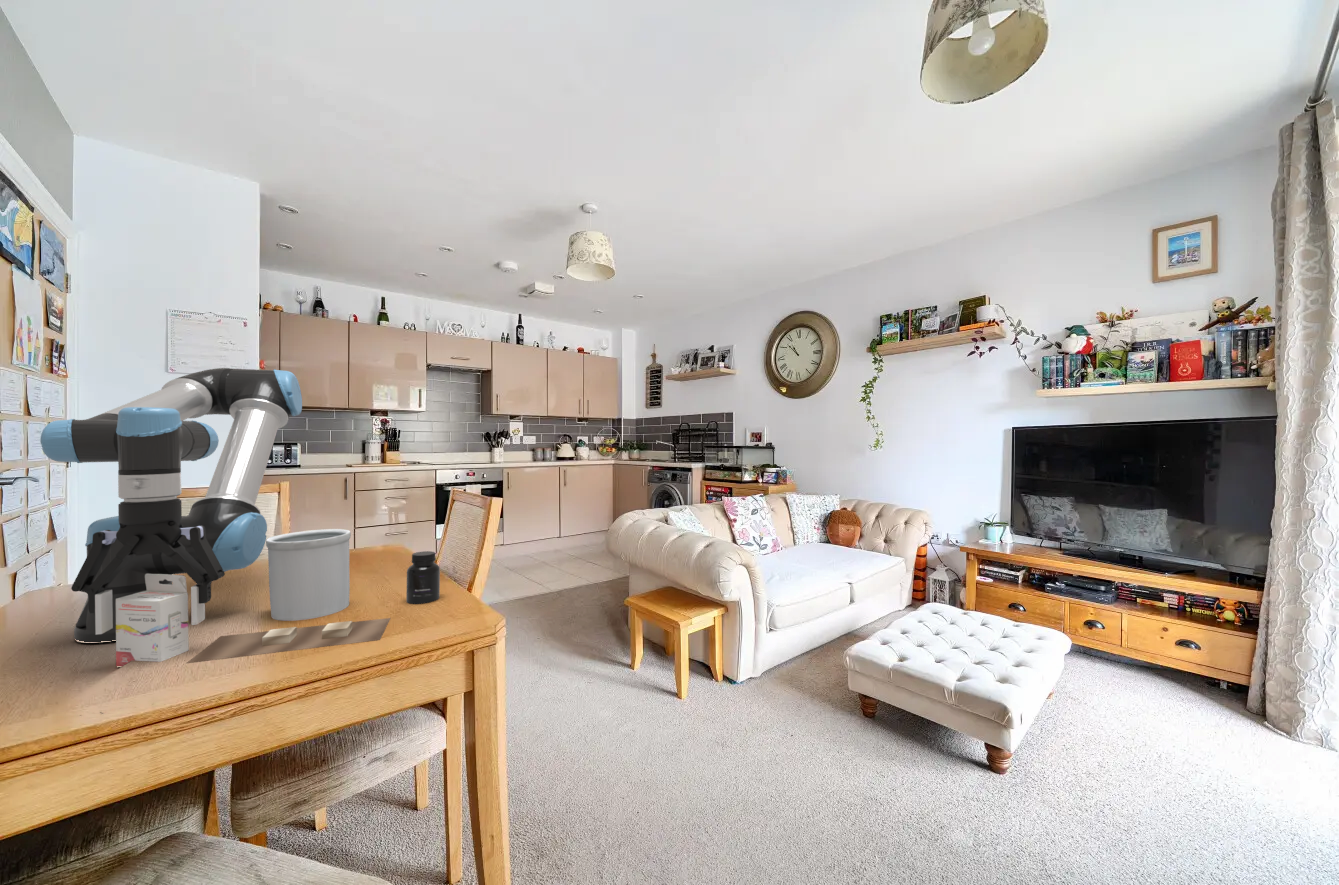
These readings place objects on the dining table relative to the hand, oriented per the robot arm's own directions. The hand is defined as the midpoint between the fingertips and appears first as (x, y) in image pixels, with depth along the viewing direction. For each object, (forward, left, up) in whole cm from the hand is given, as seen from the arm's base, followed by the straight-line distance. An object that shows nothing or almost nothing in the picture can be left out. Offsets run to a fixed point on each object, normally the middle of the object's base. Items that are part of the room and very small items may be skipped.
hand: (152, 626), depth 87 cm
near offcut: (+18, 0, -5) cm, 19 cm away
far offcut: (+27, 0, -5) cm, 27 cm away
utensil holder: (+18, +18, -7) cm, 26 cm away
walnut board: (+21, 0, -6) cm, 22 cm away
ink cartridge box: (0, 0, -7) cm, 7 cm away
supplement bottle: (+40, +17, -6) cm, 44 cm away
